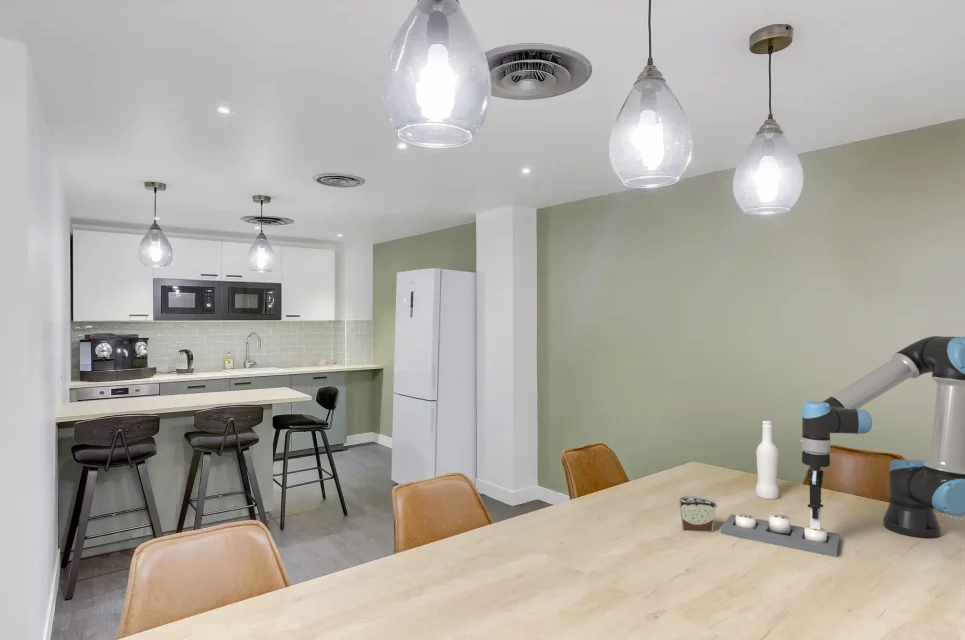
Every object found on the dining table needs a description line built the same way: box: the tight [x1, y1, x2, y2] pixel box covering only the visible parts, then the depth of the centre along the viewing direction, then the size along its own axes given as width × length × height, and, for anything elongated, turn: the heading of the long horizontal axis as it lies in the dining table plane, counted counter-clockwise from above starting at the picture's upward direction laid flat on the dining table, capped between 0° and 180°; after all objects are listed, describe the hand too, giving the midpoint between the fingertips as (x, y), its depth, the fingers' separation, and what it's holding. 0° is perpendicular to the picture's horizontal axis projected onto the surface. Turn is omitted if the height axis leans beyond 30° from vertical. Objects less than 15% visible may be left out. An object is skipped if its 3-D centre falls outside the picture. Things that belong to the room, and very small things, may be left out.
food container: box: [677, 495, 718, 533], centre depth 189 cm, size 12×6×10 cm, turn 84°
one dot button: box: [804, 525, 828, 543], centre depth 176 cm, size 6×6×4 cm
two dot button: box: [768, 513, 791, 534], centre depth 182 cm, size 6×6×4 cm
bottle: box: [755, 420, 780, 501], centre depth 225 cm, size 8×8×30 cm
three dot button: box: [735, 513, 757, 529], centre depth 188 cm, size 6×6×4 cm
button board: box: [720, 513, 841, 558], centre depth 182 cm, size 32×16×2 cm, turn 55°
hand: (815, 528), depth 176 cm, fingers closed
